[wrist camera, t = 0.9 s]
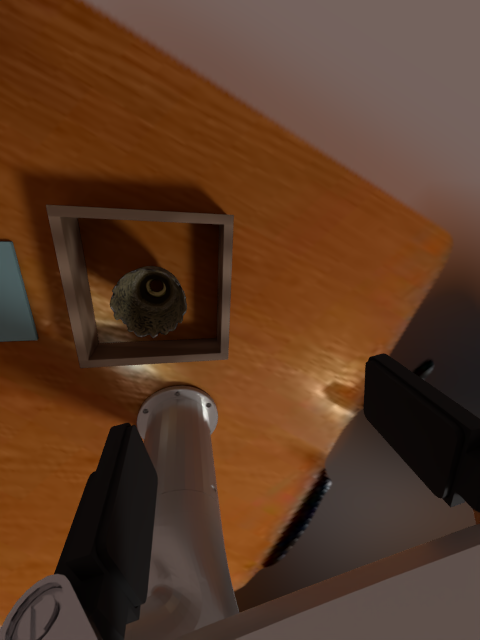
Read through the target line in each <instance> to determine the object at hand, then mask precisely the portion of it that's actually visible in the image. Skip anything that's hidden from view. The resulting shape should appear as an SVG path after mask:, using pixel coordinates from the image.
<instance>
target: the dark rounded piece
mask: <svg viewBox="0 0 480 640" xmlns="http://www.w3.org/2000/svg"><path fill="white" fill-rule="evenodd" d="M153 280H160V281H161V282H162V283H163V289H162V290H161V291H159V292H155V291H153V290H152V289H151V288H150V283H151V282H152V281H153ZM117 283H118V284H117V285H116V286H115V287H114V288H113V290H112V292H113V295H112V297H111V301H110V307H111V309H112V310H113V312H114V317H115V319H116V320H118V319H121V320H122V321H123V323H124V324H126V325H127V327H128V329H127V330H128V331H129V332H132V331H134V333H135V334H136V336H138V337H144V336H146V335H151V337H152V338H154V337H156V336H157V335H158V334H159V332H160V333H161V334H164V335H166V334H168V332H170V331H174V330H175V329H176V327H177V324H178V322H179V323H182V321H183V315H184V314H185V313H186V310H187V304H186V297H185V293H184V291H183V289H182V287H181V285H180V283H179V281H178V280H177V279H176V277H175V276H174V275H173V274H172V273H170V272H169V271H167V270H165V269H163V268H160V267H156V266H146V267H142V268H139V269H136V270H134V271H131V272H129V273H127V274H125V275H124V276H123V277H122V278H121V279H120V280H119V281H118V282H117Z"/></svg>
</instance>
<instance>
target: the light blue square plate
mask: <svg viewBox="0 0 480 640" xmlns="http://www.w3.org/2000/svg"><path fill="white" fill-rule="evenodd" d="M38 339H39V338H38V335H37V331H36V327H35V324H34V320H33V316H32V312H31V309H30V305H29V301H28V298H27V294H26V290H25V286H24V283H23V279H22V275H21V272H20V268H19V264H18V260H17V257H16V253H15V249H14V246H13V242H3V241H0V342H3V341H29V340H38Z"/></svg>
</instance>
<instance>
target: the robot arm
mask: <svg viewBox="0 0 480 640" xmlns="http://www.w3.org/2000/svg"><path fill="white" fill-rule="evenodd" d="M364 414H365V417H366V418H367V420H368V421H369V422H370V423H371V424H372V425H373V427H374V428H375V429H376V430H377V431H378V432H379V433H380V434H381V435H382V436H383V438H384V439H385V440H386V441H387V442H388V443H389V444H390V446H391V447H392V448H393V449H394V450H395V451H396V452H397V453H398V454H399V455H400V457H401V458H402V459H403V460H404V461H405V462H406V463H407V465H408V466H409V467H410V468H411V469H412V470H413V471H414V472H415V474H416V475H417V476H418V477H419V478H420V479H421V480H422V481H423V482H424V483H425V485H426V486H427V487H428V488H429V489H430V490H431V491H432V493H433V494H434V495H436V496H437V497H438V498H442V499H443V500H444V501H445V502H446V503H447V504H448V505H449V506H450V507H453V506H455V505H458V504H461V503H464V502H465V501H466V502H467V503H468V504H469V505H470V506H471V507H472V508H473V512H474V517H475V521H476V525H474V526H471V527H468V528H465V529H462V530H460V531H457V532H454V533H451V534H449V535H446V536H444V537H441V538H438V539H435V540H432V541H430V542H427V543H424V544H422V545H419V546H416V547H413V548H411V549H408V550H405V551H403V552H400V553H397V554H395V555H392V556H389V557H386V558H384V559H381V560H378V561H376V562H373V563H370V564H368V565H365V566H362V567H360V568H357V569H354V570H352V571H349V572H346V573H344V574H341V575H338V576H336V577H333V578H330V579H328V580H325V581H322V582H320V583H317V584H314V585H312V586H309V587H307V588H304V589H301V590H298V591H296V592H293V593H290V594H288V595H285V596H283V597H280V598H278V599H275V600H272V601H269V602H267V603H264V604H262V605H259V606H256V607H254V608H251V609H249V610H246V611H244V612H241V613H239V611H238V607H237V603H236V599H235V595H234V591H233V587H232V583H231V578H230V574H229V569H228V564H227V558H226V552H225V546H224V539H223V532H222V524H221V516H220V509H219V501H218V492H217V484H216V476H215V468H214V460H213V451H212V443H211V434H212V433H213V431H214V429H215V427H216V425H217V421H218V413H217V408H216V405H215V403H214V401H213V399H212V398H211V397H210V396H209V395H208V394H207V393H205V392H204V391H202V390H200V389H197V388H194V387H190V386H173V387H168V388H165V389H162V390H159V391H158V392H156V393H154V394H152V395H151V396H150V397H149V398H147V399H146V401H145V402H144V403H143V404H142V406H141V408H140V410H139V413H138V417H137V427H136V426H135V425H133V426H131V425H130V423H124V424H121V425H117V426H113V427H112V428H111V429H110V431H109V434H108V437H107V440H106V443H105V446H104V449H103V452H102V455H101V458H100V461H99V464H98V467H97V470H96V471H95V472H93V473H92V474H91V475H90V476H89V479H88V481H87V484H86V486H85V489H84V492H83V495H82V498H81V500H80V503H79V506H78V509H77V512H76V514H75V517H74V520H73V523H72V525H71V528H70V531H69V534H68V537H67V539H66V542H65V545H64V548H63V551H62V553H61V556H60V559H59V562H58V565H57V567H56V570H55V573H54V575H50V576H47V577H45V578H44V579H42V580H40V581H38V582H37V583H36V584H34V585H33V586H32V587H31V588H30V589H28V590H27V591H26V592H25V593H24V594H23V596H22V597H21V598H20V599H19V600H18V601H17V602H16V604H15V605H14V607H13V608H12V609H11V611H10V612H9V614H8V615H7V617H6V619H5V621H4V623H3V625H2V627H1V629H0V640H480V419H479V418H478V417H476V416H475V415H473V414H472V413H470V412H469V411H468V410H466V409H464V408H463V407H461V406H460V405H459V404H458V403H456V402H455V401H453V400H452V399H450V398H449V397H447V396H446V395H444V394H443V393H442V392H440V391H439V390H437V389H436V388H434V387H433V386H432V385H430V384H429V383H427V382H426V381H424V380H423V379H421V378H420V377H419V376H417V375H416V374H414V373H413V372H411V371H410V370H408V369H407V368H406V367H404V366H403V365H401V364H400V363H398V362H397V361H395V360H394V359H393V358H391V357H390V356H388V355H387V354H379V355H376V356H372V357H370V358H369V360H368V362H366V367H365V391H364ZM137 429H138V430H137ZM138 431H139V432H138ZM140 435H141V436H140ZM141 437H142V438H143V440H144V443H143V441H142V439H141Z"/></svg>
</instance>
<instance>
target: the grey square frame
mask: <svg viewBox="0 0 480 640" xmlns="http://www.w3.org/2000/svg"><path fill="white" fill-rule="evenodd" d="M46 209H47V213H48V218H49V223H50V227H51V232H52V237H53V242H54V246H55V251H56V256H57V261H58V265H59V270H60V275H61V279H62V284H63V289H64V294H65V298H66V303H67V308H68V312H69V317H70V322H71V327H72V331H73V336H74V341H75V346H76V350H77V355H78V360H79V364H80V368H91V367H108V366H125V365H142V364H158V363H175V362H192V361H209V360H225V359H228V347H229V322H230V296H231V270H232V245H233V219H234V215H224V214H205V213H187V212H169V211H151V210H133V209H115V208H96V207H78V206H60V205H46ZM78 218H97V219H118V220H140V221H161V222H182V223H203V224H219V253H218V304H217V338H210V339H186V340H163V341H139V342H115V343H99V340H98V334H97V328H96V322H95V317H94V311H93V305H92V299H91V293H90V288H89V282H88V276H87V270H86V264H85V259H84V253H83V247H82V241H81V235H80V230H79V224H78Z"/></svg>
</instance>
